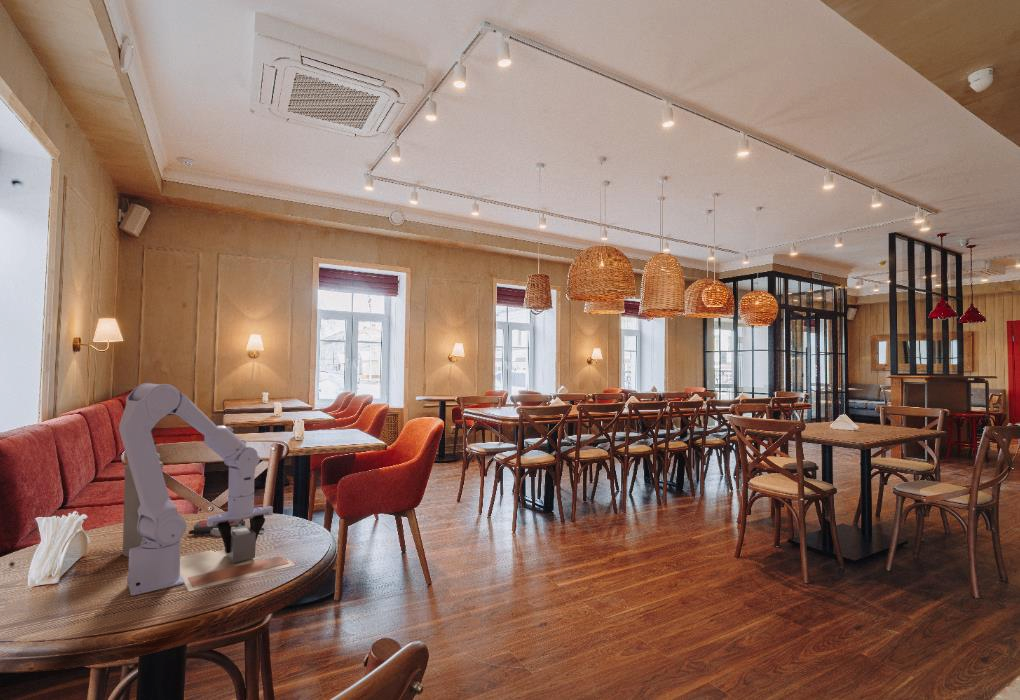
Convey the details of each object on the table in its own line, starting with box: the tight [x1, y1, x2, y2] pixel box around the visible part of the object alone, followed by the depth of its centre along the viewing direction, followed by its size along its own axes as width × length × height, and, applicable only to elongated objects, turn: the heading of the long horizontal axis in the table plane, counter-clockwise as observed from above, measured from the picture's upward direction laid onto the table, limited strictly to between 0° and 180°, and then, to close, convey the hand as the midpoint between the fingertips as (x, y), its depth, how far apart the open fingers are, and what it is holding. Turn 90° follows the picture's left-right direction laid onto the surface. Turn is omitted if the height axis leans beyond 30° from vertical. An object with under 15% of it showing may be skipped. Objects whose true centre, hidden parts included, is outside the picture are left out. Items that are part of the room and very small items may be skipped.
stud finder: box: [225, 524, 257, 563], centre depth 126 cm, size 5×8×6 cm, turn 41°
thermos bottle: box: [122, 441, 164, 558], centre depth 131 cm, size 8×8×28 cm
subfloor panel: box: [180, 549, 296, 593], centre depth 124 cm, size 22×24×1 cm
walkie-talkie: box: [188, 519, 265, 537], centre depth 146 cm, size 9×4×20 cm
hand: (240, 549), depth 126 cm, fingers closed on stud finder, 5 cm apart
